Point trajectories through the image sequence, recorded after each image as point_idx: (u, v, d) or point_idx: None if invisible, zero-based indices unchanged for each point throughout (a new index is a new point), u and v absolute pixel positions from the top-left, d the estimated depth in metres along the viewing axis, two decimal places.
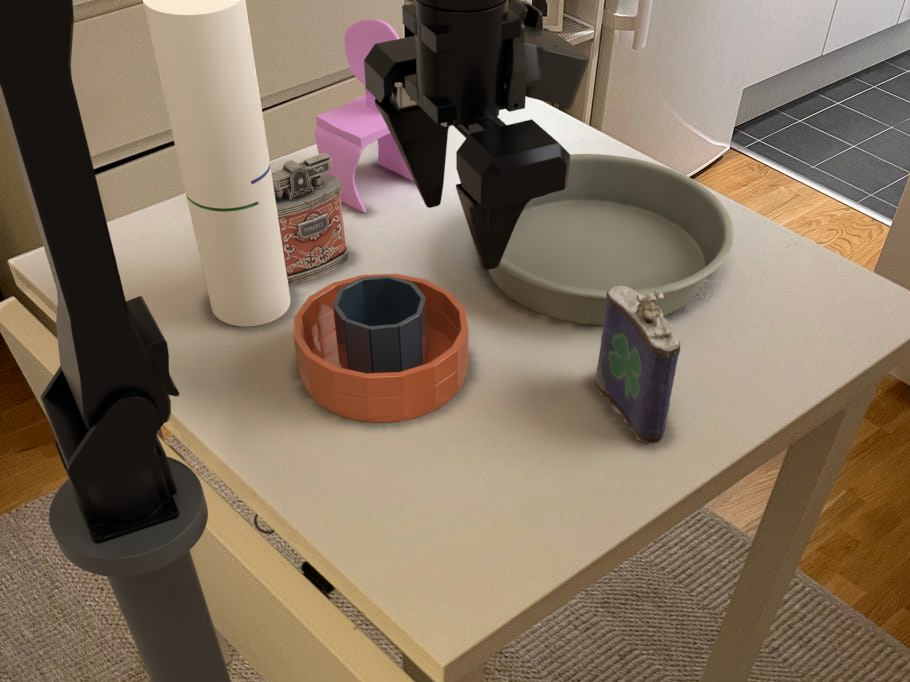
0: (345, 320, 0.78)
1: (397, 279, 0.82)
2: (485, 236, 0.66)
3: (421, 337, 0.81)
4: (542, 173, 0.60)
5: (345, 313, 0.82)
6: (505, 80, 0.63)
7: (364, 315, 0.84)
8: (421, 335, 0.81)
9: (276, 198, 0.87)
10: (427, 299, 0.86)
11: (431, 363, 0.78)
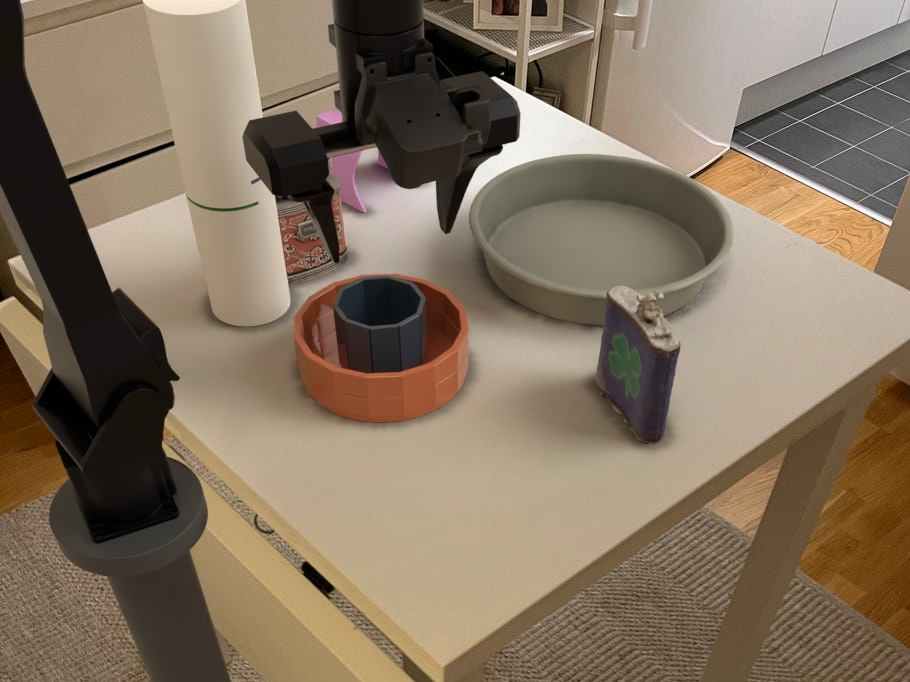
0: (345, 320, 0.78)
1: (397, 279, 0.82)
2: (310, 215, 0.72)
3: (421, 337, 0.81)
4: (260, 162, 0.65)
5: (345, 313, 0.82)
6: None
7: (364, 315, 0.84)
8: (421, 335, 0.81)
9: (276, 198, 0.87)
10: (427, 299, 0.86)
11: (431, 363, 0.78)
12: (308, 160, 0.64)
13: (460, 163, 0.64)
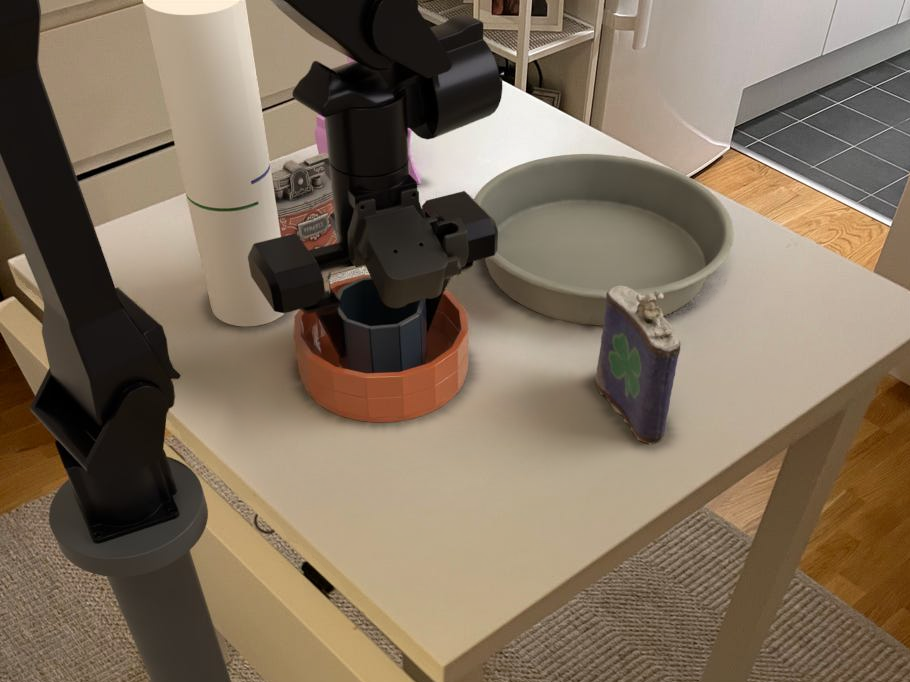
0: (345, 320, 0.78)
1: None
2: (318, 317, 0.80)
3: (421, 337, 0.81)
4: (263, 282, 0.73)
5: (345, 313, 0.82)
6: None
7: (364, 315, 0.84)
8: (421, 335, 0.81)
9: (276, 198, 0.87)
10: None
11: (431, 363, 0.78)
12: (306, 282, 0.72)
13: (441, 285, 0.72)
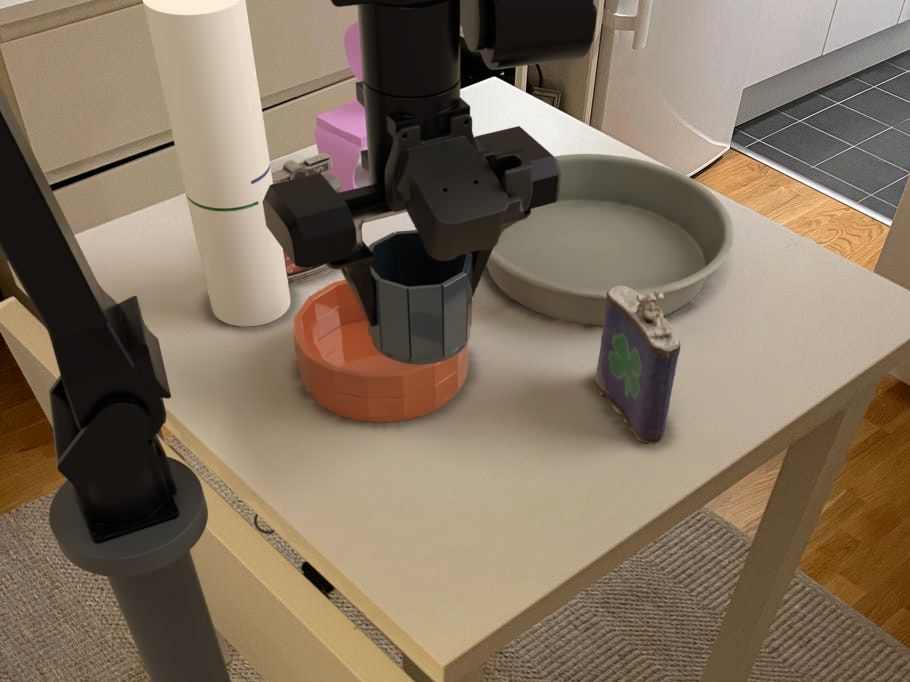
0: (378, 280, 0.66)
1: None
2: (345, 278, 0.67)
3: (467, 301, 0.68)
4: (282, 231, 0.60)
5: None
6: None
7: (397, 277, 0.72)
8: (467, 299, 0.68)
9: None
10: None
11: None
12: (334, 229, 0.59)
13: (499, 232, 0.59)
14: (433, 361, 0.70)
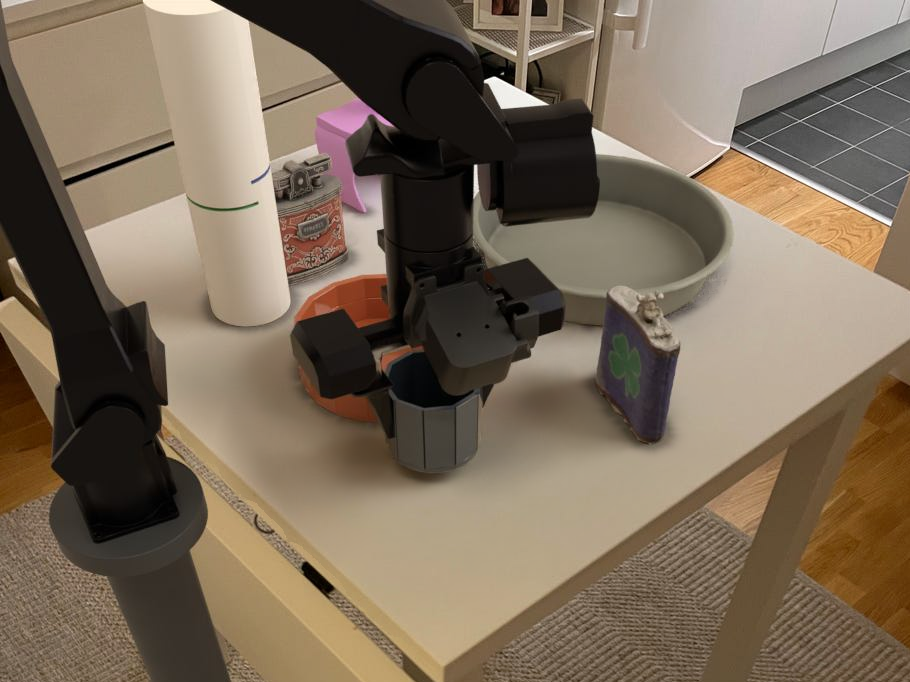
0: (395, 401, 0.71)
1: None
2: (365, 396, 0.72)
3: (478, 417, 0.73)
4: (308, 365, 0.65)
5: (393, 389, 0.75)
6: None
7: (412, 389, 0.77)
8: (478, 415, 0.73)
9: (276, 198, 0.87)
10: None
11: None
12: (356, 366, 0.65)
13: (508, 369, 0.65)
14: (445, 470, 0.75)
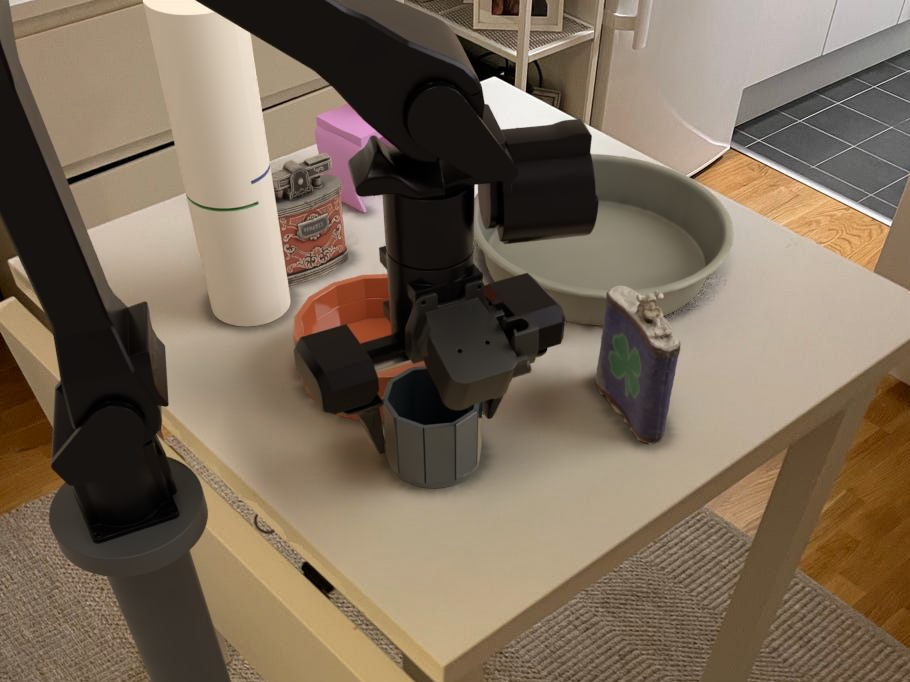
0: (396, 418, 0.72)
1: None
2: None
3: (477, 433, 0.75)
4: (311, 380, 0.66)
5: (394, 405, 0.76)
6: None
7: (413, 405, 0.78)
8: (477, 432, 0.74)
9: (276, 198, 0.87)
10: None
11: None
12: (359, 381, 0.66)
13: (508, 384, 0.66)
14: (446, 485, 0.76)
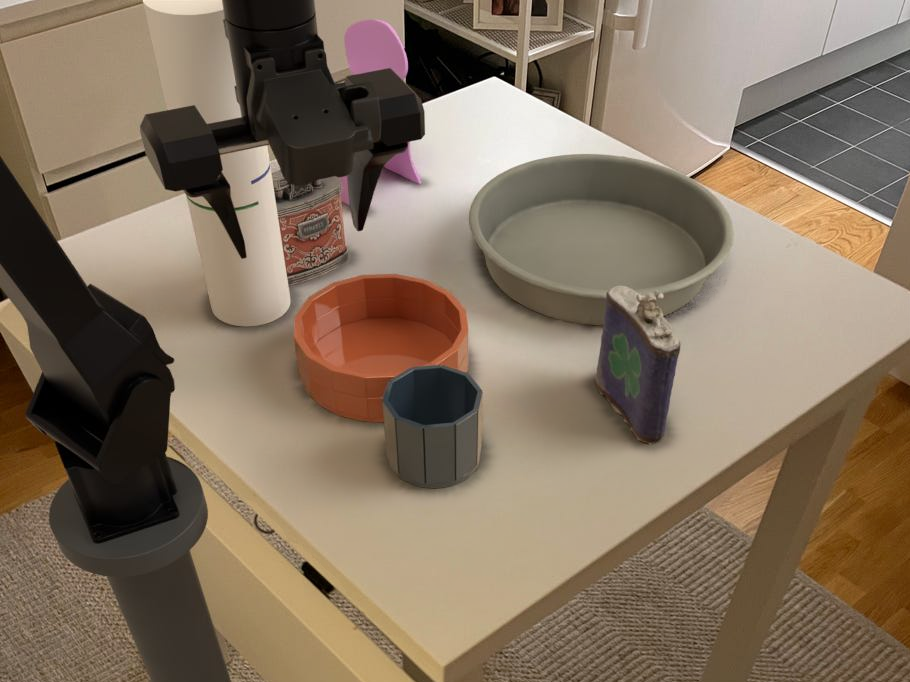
0: (396, 418, 0.72)
1: (451, 369, 0.76)
2: None
3: (477, 433, 0.75)
4: (153, 157, 0.65)
5: (394, 405, 0.76)
6: None
7: (413, 405, 0.78)
8: (477, 432, 0.74)
9: (276, 198, 0.87)
10: (427, 299, 0.86)
11: (431, 363, 0.78)
12: (199, 155, 0.64)
13: (351, 160, 0.64)
14: (446, 485, 0.76)
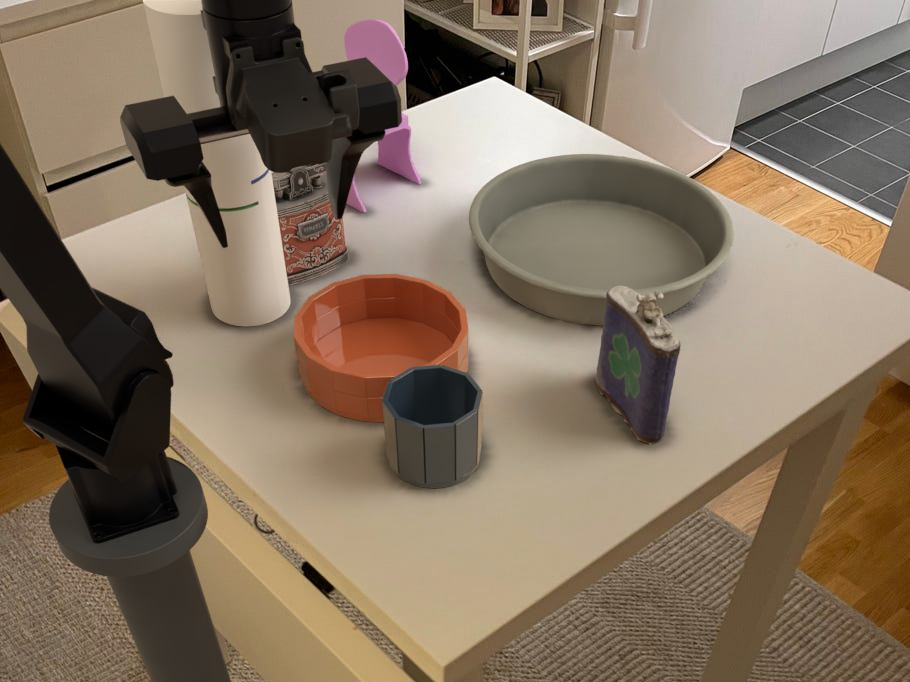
0: (396, 418, 0.72)
1: (451, 369, 0.76)
2: (195, 200, 0.72)
3: (477, 433, 0.75)
4: (134, 146, 0.66)
5: (394, 405, 0.76)
6: None
7: (413, 405, 0.78)
8: (477, 432, 0.74)
9: (276, 198, 0.87)
10: (427, 299, 0.86)
11: (431, 363, 0.78)
12: (180, 144, 0.65)
13: (330, 147, 0.65)
14: (446, 485, 0.76)
